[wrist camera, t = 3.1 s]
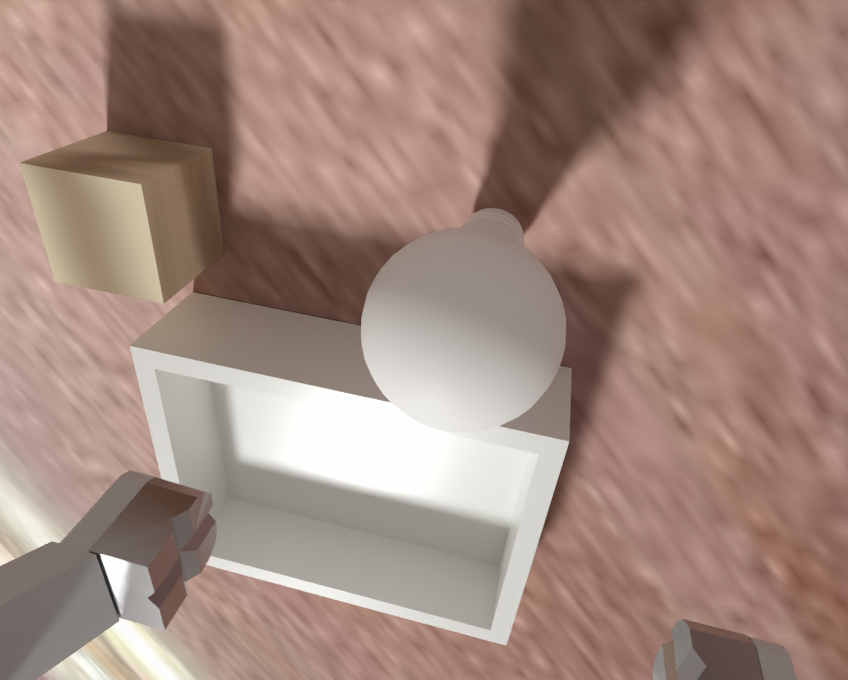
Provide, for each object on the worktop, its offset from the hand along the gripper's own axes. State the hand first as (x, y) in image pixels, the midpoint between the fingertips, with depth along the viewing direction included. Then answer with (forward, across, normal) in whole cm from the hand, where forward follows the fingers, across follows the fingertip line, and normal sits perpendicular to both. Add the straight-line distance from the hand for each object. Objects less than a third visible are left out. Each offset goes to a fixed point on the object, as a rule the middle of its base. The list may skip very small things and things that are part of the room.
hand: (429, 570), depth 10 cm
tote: (+16, +6, +14) cm, 23 cm away
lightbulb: (+17, +1, +1) cm, 17 cm away
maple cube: (+17, +16, +2) cm, 23 cm away
